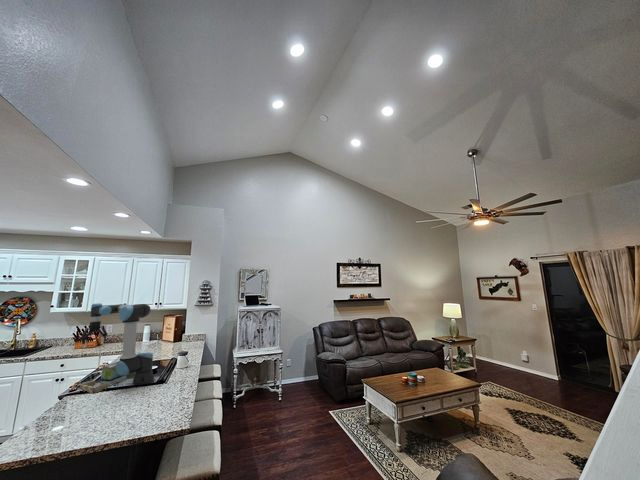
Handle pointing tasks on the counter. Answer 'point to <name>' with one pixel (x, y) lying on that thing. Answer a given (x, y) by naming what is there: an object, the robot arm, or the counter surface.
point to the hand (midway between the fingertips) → (93, 346)
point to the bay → (91, 389)
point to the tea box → (110, 375)
